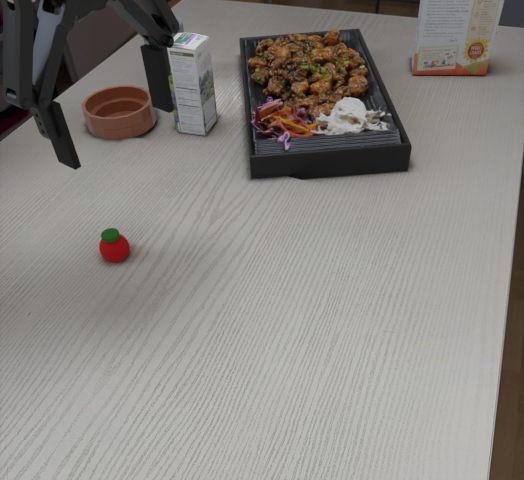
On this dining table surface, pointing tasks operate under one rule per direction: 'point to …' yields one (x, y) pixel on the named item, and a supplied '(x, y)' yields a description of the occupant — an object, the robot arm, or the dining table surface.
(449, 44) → the cracker box
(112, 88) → the bowl
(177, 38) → the syrup box
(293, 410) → the dining table surface
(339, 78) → the food platter
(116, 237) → the strawberry
